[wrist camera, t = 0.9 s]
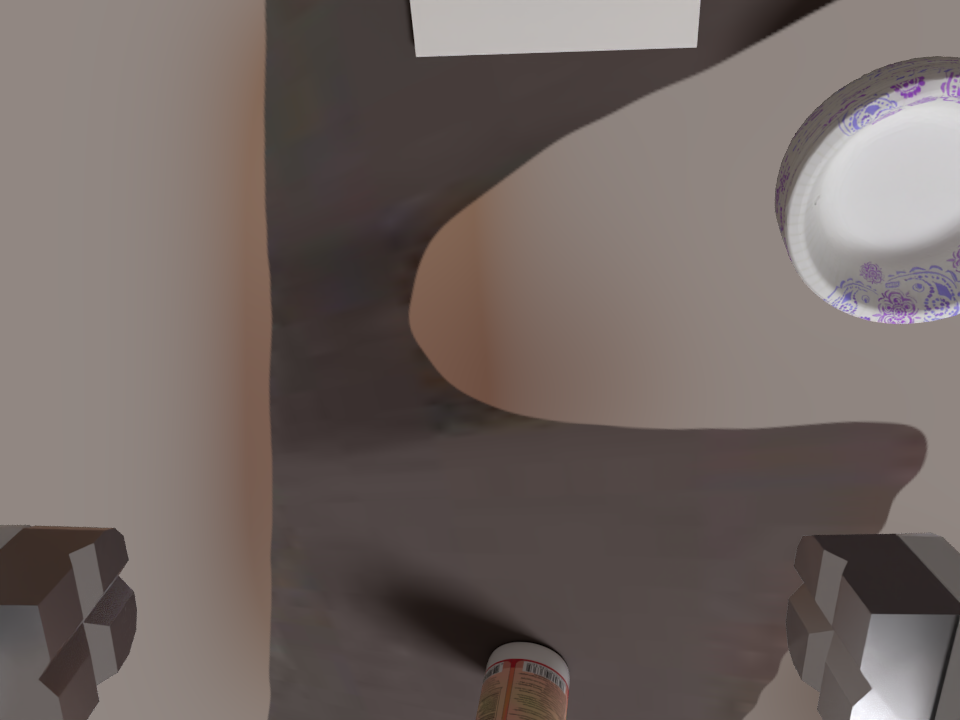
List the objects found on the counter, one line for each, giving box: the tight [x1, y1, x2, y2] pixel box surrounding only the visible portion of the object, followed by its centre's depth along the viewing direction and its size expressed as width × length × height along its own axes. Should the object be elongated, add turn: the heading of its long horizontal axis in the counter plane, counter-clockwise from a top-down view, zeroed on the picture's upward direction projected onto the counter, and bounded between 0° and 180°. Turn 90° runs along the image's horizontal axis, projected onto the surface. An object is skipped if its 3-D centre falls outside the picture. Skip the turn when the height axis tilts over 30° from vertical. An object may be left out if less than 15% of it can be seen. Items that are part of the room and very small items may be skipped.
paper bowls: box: [775, 56, 960, 324], centre depth 47 cm, size 15×15×8 cm
